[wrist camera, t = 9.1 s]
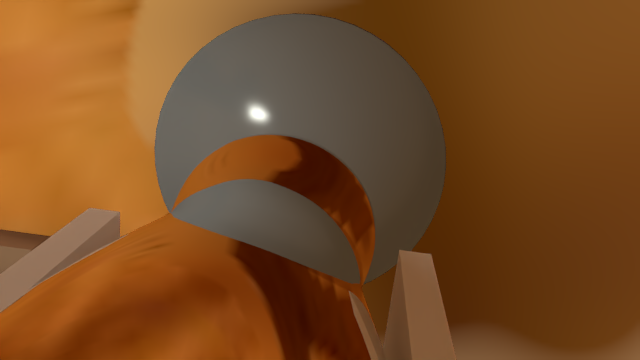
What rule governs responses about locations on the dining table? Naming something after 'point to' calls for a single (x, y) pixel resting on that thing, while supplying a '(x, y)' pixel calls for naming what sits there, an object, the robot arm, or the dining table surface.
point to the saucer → (314, 115)
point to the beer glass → (221, 270)
